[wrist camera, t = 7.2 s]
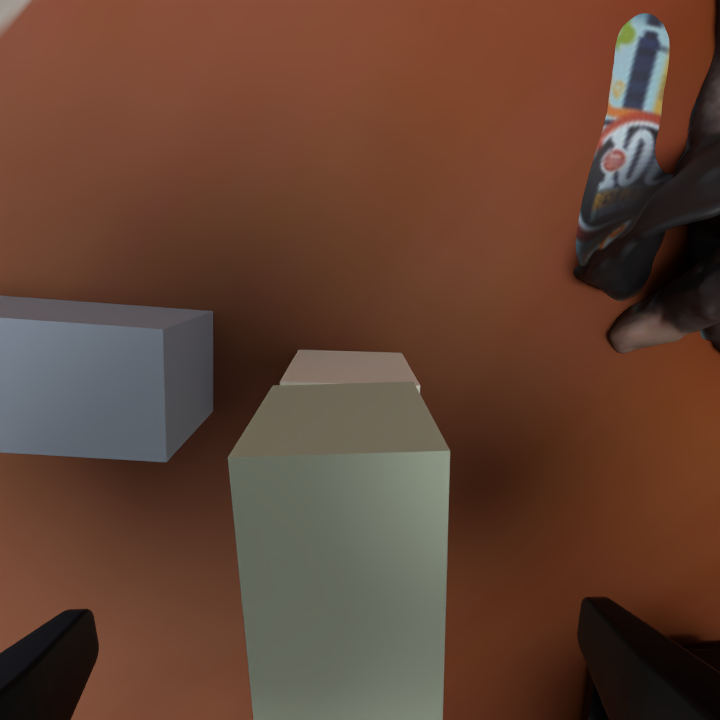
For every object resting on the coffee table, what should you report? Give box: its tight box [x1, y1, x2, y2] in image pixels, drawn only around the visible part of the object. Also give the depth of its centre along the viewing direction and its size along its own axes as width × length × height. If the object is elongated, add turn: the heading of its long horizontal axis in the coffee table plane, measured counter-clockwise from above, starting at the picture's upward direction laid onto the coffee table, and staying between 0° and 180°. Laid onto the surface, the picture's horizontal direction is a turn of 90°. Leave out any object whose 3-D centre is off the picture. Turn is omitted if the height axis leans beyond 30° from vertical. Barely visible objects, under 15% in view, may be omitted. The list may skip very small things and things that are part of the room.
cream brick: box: [280, 350, 420, 393], centre depth 13 cm, size 7×4×4 cm, turn 178°
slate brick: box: [0, 296, 213, 462], centre depth 12 cm, size 7×4×4 cm, turn 86°
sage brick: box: [228, 382, 450, 720], centre depth 9 cm, size 7×4×4 cm, turn 1°
